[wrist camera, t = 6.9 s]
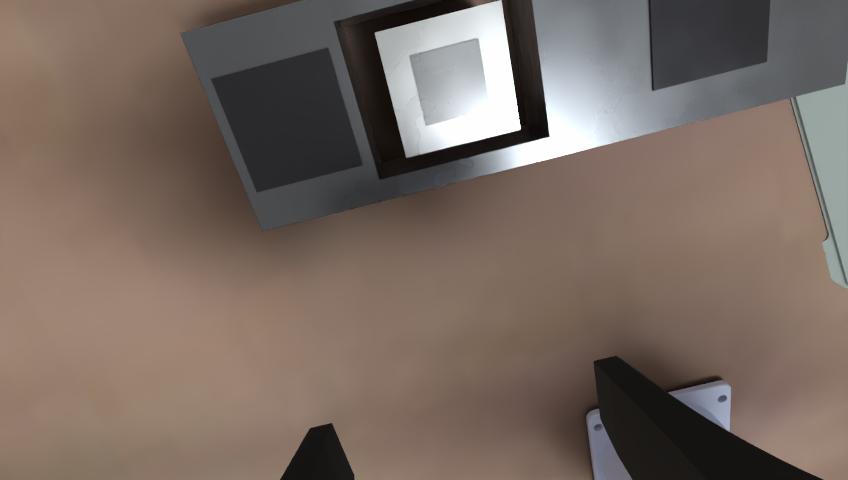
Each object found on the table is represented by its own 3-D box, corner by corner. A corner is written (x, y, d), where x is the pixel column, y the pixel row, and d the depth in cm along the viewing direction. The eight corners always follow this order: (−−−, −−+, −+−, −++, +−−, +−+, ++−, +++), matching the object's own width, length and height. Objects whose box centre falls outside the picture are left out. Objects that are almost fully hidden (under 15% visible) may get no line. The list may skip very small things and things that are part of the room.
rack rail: (778, 80, 19) (847, 84, 16) (280, 206, 20) (261, 232, 17) (791, -119, 16) (877, -156, 13) (214, 36, 17) (178, 33, 14)
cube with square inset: (495, 115, 19) (521, 130, 15) (404, 138, 19) (406, 158, 15) (478, 12, 17) (502, -1, 14) (378, 37, 17) (374, 32, 14)
